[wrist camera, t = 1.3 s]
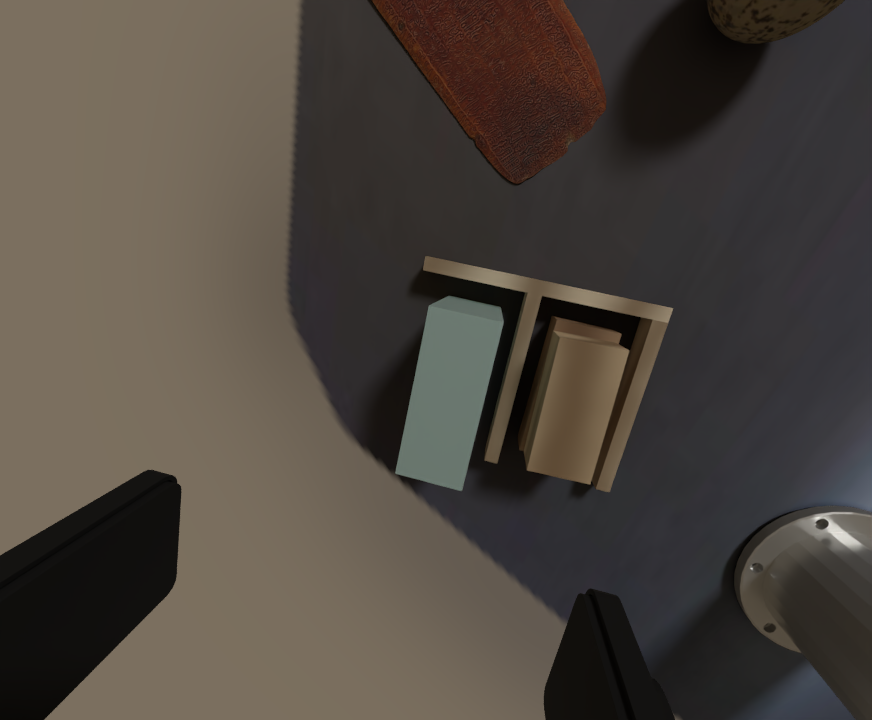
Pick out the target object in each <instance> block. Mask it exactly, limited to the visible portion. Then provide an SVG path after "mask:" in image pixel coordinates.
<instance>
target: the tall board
mask: <svg viewBox="0 0 872 720" xmlns="http://www.w3.org/2000/svg"><path fill="white" fill-rule="evenodd" d="M503 324H504V321H503V316H502V311H501V307H500V306H495V305H491V304H486V303H482V302H477V301H472V300H468V299H463V298H459V297H454V296H450V295H449V296H447V297H445V298H443V299H441V300H439V301H437V302H435V303H433V304H431V305H429V308H428V313H427V318H426V323H425V328H424V333H423V338H422V343H421V348H420V353H419V358H418V363H417V368H416V373H415V378H414V383H413V388H412V393H411V398H410V403H409V408H408V412H407V417H406V422H405V427H404V432H403V437H402V442H401V447H400V452H399V457H398V462H397V467H396V472H395V474H399V475H402V476H406V477H410V478H414V479H418V480H421V481H425V482H429V483H433V484H436V485H440V486H444V487H448V488H452V489H455V490H459V491H462V489H463V485H464V480H465V476H466V472H467V468H468V464H469V460H470V456H471V452H472V448H473V444H474V440H475V436H476V432H477V428H478V424H479V420H480V416H481V412H482V408H483V404H484V400H485V396H486V392H487V388H488V384H489V380H490V376H491V372H492V368H493V364H494V360H495V356H496V352H497V348H498V344H499V340H500V336H501V332H502V328H503Z"/></svg>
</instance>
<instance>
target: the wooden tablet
mask: <svg viewBox="0 0 872 720" xmlns="http://www.w3.org/2000/svg"><path fill="white" fill-rule="evenodd" d="M372 2H373V3H374V5H375V6H376V8H377V9H378V11H379V12H380V13H381V15H382V16H383V17H384V19H385V20H386V21H387V23H388V24H389V25H390V27H391V28H392V30H393V31H394V32H395V34H396V35H397V37H398V38H399V40H400V41H401V42H402V44H403V45H404V47H405V48H406V50H407V51H408V52H409V54H410V55H411V57H412V58H413V60H414V61H415V62H416V64H417V65H418V66H419V68H420V69H421V71H422V72H423V73H424V75H425V76H426V77H427V79H428V80H429V82H430V83H431V84H432V86H433V87H434V89H435V90H436V91H437V92H438V94H439V95H440V97H441V98H442V99H443V101H444V102H445V103H446V105H447V106H448V108H449V109H450V111H451V112H452V113H453V115H454V116H455V117H456V118H457V120H458V121H459V123H460V124H461V126H462V127H463V128H464V130H465V131H466V132H467V134H468V135H469V136H470V137H471V138H473V139H474V140H475V141H476V146H477V147H478V148H479V149H480V150H481V151H482V153H483V154H484V155H485V156H486V158H487V159H488V160H489V161H490V163H491V164H492V165H493V166H494V167H495V168H496V169H497V170H498V171H499V172H500V173H501V174H502V175H503V176H504V177H505V178H506V179H508V180H509V181H511V182H513V183H517V184H518V183H521V182H523V181H525V180H526V179H527V178H530V177H532V176H534V175H535V174H536V173H538V172H539V171H540V170H541V169H543V168H544V167H546V166H548V165H550V164H552V163H553V162H555V161H556V160H558V159H559V158H560V157H562V156H563V155H564V154H565V153H566V152H567V151H568V145H569V144H570V142H576V141H577V140H578V139H579V138H580V137H582V136H583V135H584V134H586V133H587V132H588V131H589V130H591V128H592V127H593V125H594V123H595V122H596V120H597V119H598V118H599V117H600V116H601V115H602V113H603V112H604V111H605V110H606V95H605V90H604V87H603V84H602V81H601V77H600V73H599V70H598V66H597V63H596V60H595V58H594V56H593V53H592V51H591V49H590V47H589V45H588V43H587V41H586V39H585V37H584V35H583V33H582V32H581V30H580V29H579V27H578V26H577V24H576V22H575V20H574V18H573V16H572V15H571V13H570V12H569V10H568V9H567V7H566V5H565V3H564V1H563V0H372Z"/></svg>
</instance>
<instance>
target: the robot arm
mask: <svg viewBox="0 0 872 720" xmlns="http://www.w3.org/2000/svg"><path fill="white" fill-rule="evenodd" d="M180 504H181V486H180V485H179V484H177V479H176V478H175V477H174V476H173V475H169V474H165V473H161V472H158V471H154V470H147V471H145V472H143V473H141V474H139V475H137V476H136V477H134V478H132V479H130V480H129V481H127V482H125V483H124V484H122V485H120V486H118V487H117V488H115V489H113V490H112V491H110V492H108V493H106V494H105V495H103V496H101V497H100V498H98V499H96V500H94V501H93V502H91V503H89V504H88V505H86V506H84V507H82V508H81V509H79V510H78V511H76V512H74V513H72V514H70V515H69V516H67V517H65V518H64V519H62V520H60V521H58V522H57V523H55V524H53V525H52V526H50V527H48V528H46V529H45V530H43V531H41V532H40V533H38V534H36V535H35V536H33V537H31V538H29V539H28V540H26V541H24V542H23V543H21V544H19V545H17V546H16V547H14V548H12V549H11V550H9V551H7V552H5V553H4V554H2V555H0V720H44V719H45V718H46V717H47V716H48V715H49V714H50V713H51V712H52V711H53V710H54V709H55V708H56V707H57V706H58V705H59V704H60V703H61V702H62V701H63V700H64V699H65V698H66V697H67V696H68V695H69V694H70V693H71V692H72V691H73V690H74V689H75V688H76V687H77V686H78V685H79V684H80V683H81V682H82V681H83V680H84V679H85V678H86V677H87V676H88V675H89V674H90V673H91V672H92V670H94V669H95V667H97V665H99V664H100V662H101V661H103V660H104V659H105V658H106V656H108V654H110V653H111V651H113V649H114V648H115V647H116V646H117V645H118V644H119V643H120V642H121V641H122V640H123V639H124V638H125V637H126V636H127V635H128V634H129V633H130V632H131V631H132V630H133V629H134V628H135V627H136V626H137V625H138V624H139V623H140V622H141V621H142V620H143V619H144V618H145V617H146V616H147V615H148V614H149V613H150V612H151V611H152V610H153V609H154V608H155V607H156V606H157V605H158V604H159V603H160V602H161V601H162V600H163V599H164V598H165V597H166V596H167V595H168V594H169V592H170V591H171V589H172V588H173V585H174V583H175V581H176V574H177V558H178V540H179V522H180ZM734 588H735V592H736V597H737V600H738V602H739V604H740V606H741V608H742V610H743V612H744V613H745V614H746V616H747V617H748V618H749V620H750V621H751V623H752V624H753V625H754V626H755V627H756V628H757V629H758V631H759V632H760V633H762V634H763V635H764V636H765V637H767V638H768V639H770V640H771V641H773V642H774V643H776V644H778V645H780V646H782V647H785V648H787V649H789V650H792V651H795V652H799V653H802V654H803V655H804V656H805V657H806V659H807V660H808V661H809V662H810V664H811V665H812V666H813V667H814V669H815V670H816V671H817V672H818V674H819V675H820V676H821V677H822V678H823V680H824V681H825V682H826V683H827V685H828V686H829V687H830V688H831V690H832V691H833V692H834V693H835V695H836V696H837V697H838V698H839V700H840V701H841V702H842V703H843V704H844V706H845V707H846V708H847V709H848V711H849V712H850V713H851V714H852V716H853V717H854V718H855V719H856V720H872V512H870V511H866V510H862V509H858V508H854V507H845V506H819V507H812V508H807V509H803V510H798V511H795V512H793V513H790V514H788V515H785V516H782V517H780V518H779V519H777V520H775V521H773V522H772V523H770V524H768V525H767V526H765V527H764V528H763V529H762V530H760V531H759V532H758V533H757V534H756V535H755V536H754V537H753V538H752V539H751V540H750V541H749V543H748V544H747V545H746V546H745V548H744V549H743V551H742V553H741V555H740V557H739V559H738V561H737V565H736V569H735V573H734ZM544 710H545V718H546V720H675V718H674V716H673V713H672V711H671V708H670V706H669V703H668V701H667V699H666V696H665V694H664V692H663V690H662V688H661V686H660V685H659V684H658V683H657V681H656V680H655V679H651V676H650V674H649V671H648V669H647V666H646V664H645V661H644V659H643V656H642V654H641V651H640V649H639V646H638V643H637V641H636V638H635V636H634V633H633V631H632V628H631V626H630V623H629V621H628V618H627V616H626V613H625V611H624V608H623V606H622V603H621V601H620V599H619V597H618V596H616V595H613V594H609V593H606V592H602V591H598V590H594V589H588V590H587V592H586V594H581V593H580V594H578V596H577V598H576V601H575V603H574V606H573V609H572V612H571V615H570V618H569V620H568V623H567V626H566V629H565V632H564V635H563V638H562V640H561V643H560V646H559V649H558V652H557V654H556V657H555V660H554V663H553V666H552V669H551V671H550V674H549V677H548V680H547V683H546V686H545V691H544Z"/></svg>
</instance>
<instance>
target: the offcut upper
mask: <svg viewBox="0 0 872 720" xmlns="http://www.w3.org/2000/svg"><path fill="white" fill-rule="evenodd" d="M628 354H629V350H628V349H626V348H624V347H623V346H621V345H619V344H617V343H616V342H611V341H606V340H601V339H595V338H590V337H585V336H580V335H574V334H569V333H564V332H558V331H553V333H552V337H551V341H550V345H549V350H548V354H547V358H546V362H545V366H544V370H543V374H542V378H541V382H540V386H539V391H538V395H537V399H536V403H535V407H534V411H533V415H532V419H531V423H530V427H529V432H528V436H527V440H526V444H525V448H524V456H525V462H526V468H527V470H528V471H532V472H536V473H541V474H545V475H550V476H554V477H559V478H563V479H568V480H572V481H576V482H581V483H585V484H591V480H592V477H593V474H594V470H595V467H596V463H597V460H598V456H599V453H600V450H601V446H602V443H603V439H604V436H605V433H606V429H607V426H608V422H609V419H610V415H611V412H612V409H613V405H614V402H615V398H616V395H617V392H618V388H619V385H620V381H621V378H622V374H623V371H624V368H625V364H626V361H627V357H628Z"/></svg>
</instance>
